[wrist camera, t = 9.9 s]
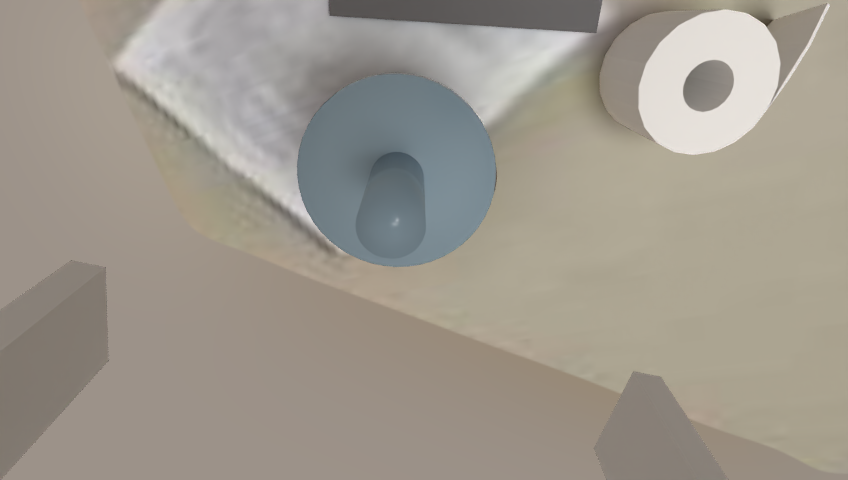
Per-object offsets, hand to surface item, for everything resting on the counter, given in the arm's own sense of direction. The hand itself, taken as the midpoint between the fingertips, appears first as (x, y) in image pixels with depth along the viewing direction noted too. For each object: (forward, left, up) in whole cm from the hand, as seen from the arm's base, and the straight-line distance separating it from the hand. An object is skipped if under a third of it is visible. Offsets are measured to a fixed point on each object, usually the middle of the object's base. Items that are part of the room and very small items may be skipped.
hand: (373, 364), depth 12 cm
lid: (0, 0, -17) cm, 17 cm away
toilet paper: (-6, +20, -27) cm, 34 cm away
